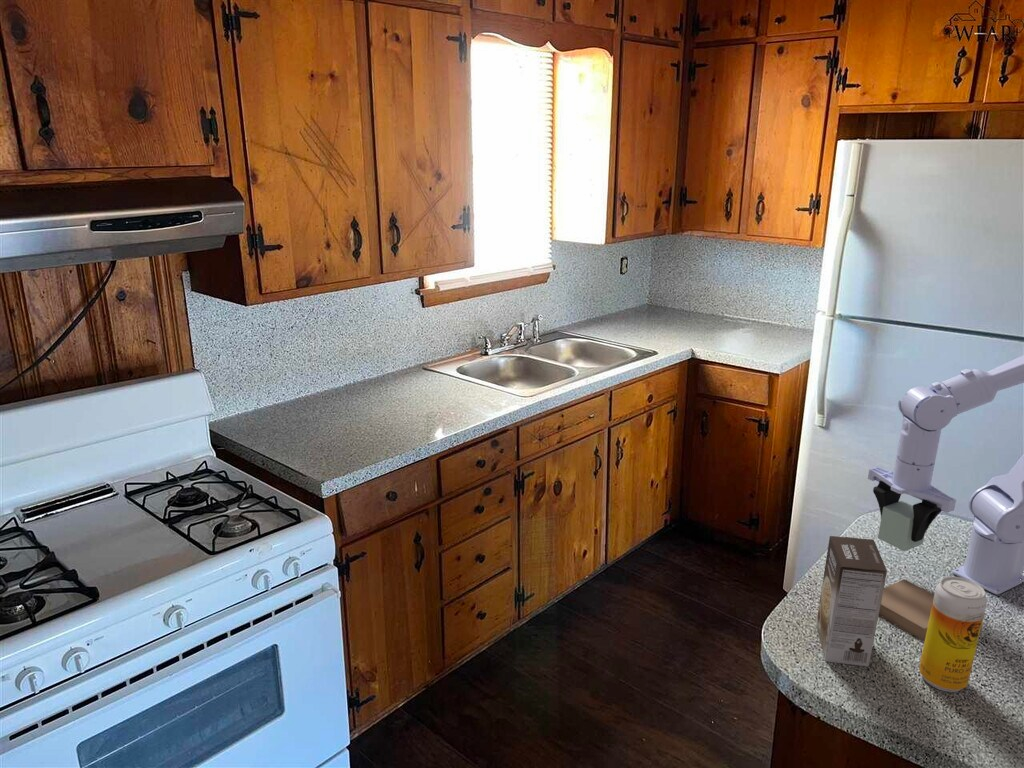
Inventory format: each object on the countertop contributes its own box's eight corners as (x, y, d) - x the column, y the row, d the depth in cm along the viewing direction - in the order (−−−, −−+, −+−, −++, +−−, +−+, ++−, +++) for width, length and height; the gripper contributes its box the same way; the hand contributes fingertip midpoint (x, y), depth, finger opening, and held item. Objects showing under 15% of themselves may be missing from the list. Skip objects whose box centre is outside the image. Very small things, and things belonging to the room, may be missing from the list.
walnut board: (901, 591, 130) (904, 579, 129) (959, 623, 122) (962, 609, 121) (863, 609, 125) (866, 595, 125) (921, 642, 117) (924, 628, 116)
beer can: (946, 699, 105) (967, 604, 100) (908, 672, 110) (927, 580, 105) (977, 687, 107) (999, 594, 102) (938, 661, 112) (957, 571, 108)
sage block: (896, 531, 135) (901, 500, 133) (922, 544, 131) (928, 512, 129) (877, 538, 133) (883, 506, 131) (904, 551, 129) (910, 519, 127)
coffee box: (814, 625, 120) (828, 533, 115) (857, 630, 119) (873, 538, 114) (824, 662, 112) (840, 565, 107) (871, 668, 110) (889, 570, 106)
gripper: (861, 448, 131) (849, 519, 136) (942, 480, 119) (926, 557, 124) (888, 441, 135) (875, 511, 139) (969, 471, 123) (953, 547, 127)
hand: (901, 532), depth 131 cm, fingers closed on sage block, 5 cm apart
